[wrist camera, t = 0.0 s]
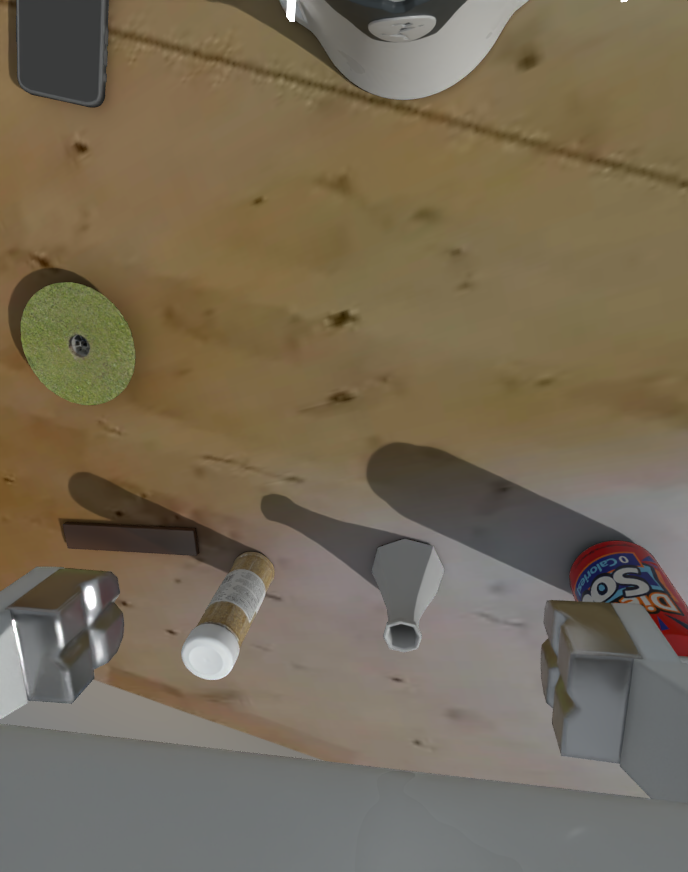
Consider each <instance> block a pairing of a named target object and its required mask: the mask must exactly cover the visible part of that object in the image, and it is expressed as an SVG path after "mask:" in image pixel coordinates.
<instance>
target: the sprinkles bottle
mask: <svg viewBox="0 0 688 872" xmlns="http://www.w3.org/2000/svg"><path fill="white" fill-rule="evenodd" d="M273 578H274V568H273V564H272V563H271V562H270V561H269V559H268V558H266V557H265V556H264V555H262V554H261V553H257V552H245V553H243V554H241V555H240V556H238V557H237V558H236V560H235V562H234V564H233V567H232V569H231V570H230V572H229V574H227V576H226V577H225V579H224V580H223V582H222V584H221V585H220V587H219V589H218V590H217V592H216V593H215V595H214V597H213V598H212V600H211V602H210V603H209V605H208V607H207V608H206V610H205V613H204V615H203V616H202V618H201V620H200V622H199V623H198V625H197V626H196V627H195V628H194V629H193V630H192V631H191V632H190V634H189V636H188V637H187V639H186V641H185V643H184V645H183V647H182V652H181V655H182V660H183V662H184V664H185V666H186V667H187V668H188V669H189V671H191V672H192V673H193V674H195V675H196V676H198V677H200V678H203V679H208V680H217V679H221V678H223V677H225V676H226V675H228V674H229V673H230V671H231V670H232V668H233V666H234V664H235V662H236V660H237V658H238V655H239V648H240V646H241V644H242V642H243V640H244V638H245V636H246V634H247V632H248V630H249V628H250V625H251V623H252V621H253V619H254V618H255V616H256V614H257V612H258V610H259V608H260V606H261V603H262V601H263V599H264V597H265V593H266V591H267V589H268V587H269V585H270V584H271V582H272V581H273Z"/></svg>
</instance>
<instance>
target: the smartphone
mask: <svg viewBox="0 0 688 872" xmlns="http://www.w3.org/2000/svg"><path fill="white" fill-rule="evenodd" d="M16 1H17V16H16V42H17V78H18V82H19V85H20V86H21V88H22V89H24V90H25V91H26V92H28V93H30V94H32V95H36V96H41V97H45V98H50V99H55V100H59V101H64V102H68V103H73V104H77V105H82V106H87V107H98V106H100V105H101V104H102V103H103V101H104V98H105V83H106V78H107V74H106V67H107V54H108V51H107V46H108V7H109V0H16Z"/></svg>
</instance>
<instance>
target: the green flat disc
mask: <svg viewBox="0 0 688 872" xmlns="http://www.w3.org/2000/svg"><path fill="white" fill-rule="evenodd" d="M23 311H24V313H23V316H22V318H21V319H22V321H21V325H20V326H21V342H22V347H23V350H24V353H25V356H26V358H27V360H28V363H29V364H30V366H31V368H32V370H33V372H34V373H35V374H36V376H37V377H38V378H39V380H40V381H41V382H42V383H43V384H44V385H45V386H46V387H47V388H48V389H49V390H51V391H52V392H54V393H55V394H57V395H58V396H60V397H62V398H64V399H66V400H68V401H70V402H74V403H78V404H82V405H97V404H102V403H105V402H108V401H110V400H112V399H114V398H115V397H117V396H118V395H119V394H120V393H121V392H122V391H123V390H124V389H125V388H126V387H127V385H128V383H129V381H130V379H131V377H132V374H133V372H134V365H135V360H134V359H135V349H134V342H133V337H132V333H131V330H130V329H129V326H128V323H127V322H126V321H125V319H124V317H123V315H122V314H121V313H120V311H119V310H118V309H117V308H116V307H115V306H114V304H113V303H112V302H111V301H109V300H108V299H107V298H106V297H105V296H103V295H102V294H101V293H99V292H97V291H95V290H94V289H92V288H90V287H87V286H84V285H81V284H78V283H73V282H67V283H66V282H62V283H54V284H51V285H49V286H45V287H44V288H42V289H40V291H38V292H37V293H35V294H34V295H33V297H32V298H31V299H30V300H29V302H28V303H27V305H26V307H25V309H24V310H23Z"/></svg>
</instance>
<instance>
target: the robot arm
mask: <svg viewBox="0 0 688 872" xmlns="http://www.w3.org/2000/svg"><path fill="white" fill-rule="evenodd" d="M279 1H280V4H281V6H282V8H283V9H284V11H285V12H286V13H287V15H286V16H287V18H288V19H289V21H291V22H294V20H295V21H297V22H298V23H300V24H301V25H302V26H304V27H306V28H307V29H309V30H310V31H312V33H313V34H314V35H315V36H316V37H317V39H318V40H319V42H320V43H321V45H322V46H323V48H324V50H325V51H326V53H327V55H328V56H329V58H330V59H331V61H332V62H333V63H334V65H335V66H336V67H337V68H338V70H339V71H340V72H341V73H342V74H343V75H344V76H345V77H346V78H348V79H349V80H350V81H351V82H353V83H354V84H355V85H357V86H358V87H360V88H362V89H363V90H365V91H367V92H369V93H372V94H374V95H377V96H380V97H384V98H389V99H396V100H411V99H418V98H423V97H427V96H431V95H433V94H436V93H439V92H441V91H443V90H445V89H447V88H449V87H451V86H452V85H454V84H456V83H457V82H459V81H460V80H461V79H463V78H464V77H465V76H466V75H468V74H469V73H470V72H471V71H472V70H473V69H474V68H475V67H476V66H477V65H478V64H479V63H480V62H481V61H482V60H483V58H484V57H485V56H486V55H487V53H488V52H489V51H490V49H491V48H492V46H493V45H494V43H495V42H496V40H497V38H498V37H499V35H500V33H501V32H502V30H503V28H504V26H505V25H506V23H507V22H508V20H509V19H510V17H511V16H512V15H513V13H514V12H515V11H516V10H517V9H519V8H520V7H521V6H522V5H524V4H525V3H526V2H527V1H529V0H279ZM626 1H627V0H621V2H626ZM119 594H120V590H119V584H118V578H117V577H116V576H115V575H114V574H113V573H112V572H109V571H97V570H86V569H74V568H64V567H36V568H35V569H33V570H32V571H30V572H29V573H27V574H26V575H24V576H23V577H21V578H20V579H18V580H17V581H15V582H14V583H12V584H11V585H10V586H8V587H7V588H5V589H4V590H2V591H1V592H0V719H2V718H3V717H5V716H7V715H8V714H10V713H12V712H13V711H15V710H16V709H18V708H20V707H21V706H23V705H25V704H26V703H28V700H29V701H43V702H57V703H71V704H72V703H73V702H74V701H75V700H76V698H77V697H78V696H79V695H80V694H81V693H82V692H83V690H84V689H85V688H86V687H87V686H88V685H89V684H90V683H91V682H92V680H93V679H94V669H96V668H98V667H100V666H102V665H104V664H106V663H108V662H109V661H110V660H111V659H112V657H113V656H114V655H115V654H116V653H117V651H118V648H119V646H120V643H121V641H122V638H123V632H124V618H123V613H122V611H121V610H120V609H119V608H118V606H117V605H116V604H115V603H114V602H115V600H116V598H117V597H118V595H119ZM544 626H545V629H546V632H547V635H548V639H547V640H546V641H545V642H544V643H543V644H542V648H541V680H542V686H543V692H544V696H545V700H546V703H547V704H549V705H550V706H551V707H552V708H553V716H552V725H553V728H554V732H555V735H556V739H557V742H558V746H559V749H560V753H561V756H567V757H574V758H582V759H589V760H597V761H604V762H612V763H619V764H620V767H621V768H622V769H623V770H624V771H625V772H626V773H627V774H628V775H629V776H630V777H631V778H632V779H633V780H634V781H635V782H636V783H637V784H638V785H639V786H640V787H641V789H642V790H643V791H644V792H645V793H646V794H647V795H648V796H649V797H650V798H651V799H649V798H641V797H632V796H623V795H615V794H606V793H598V792H589V791H580V790H572V789H563V788H554V787H546V786H537V785H528V784H519V783H511V782H502V781H493V780H485V779H476V778H467V777H459V776H450V775H441V774H432V773H424V772H415V771H406V770H398V769H389V768H380V767H371V766H363V765H354V764H345V763H337V762H328V761H319V760H310V759H302V758H293V757H284V756H276V755H267V754H258V753H250V752H241V751H232V750H222V749H214V748H206V747H198V746H188V745H179V744H172V743H163V742H154V741H146V740H136V739H127V738H119V737H110V736H102V735H94V734H85V733H76V732H68V731H59V730H50V729H42V728H32V727H24V726H16V725H7V724H0V872H688V663H682V661H681V660H680V658H679V657H678V655H677V654H676V653H675V651H674V650H673V648H672V647H671V645H670V644H669V642H668V641H667V640H666V638H665V637H664V635H663V634H662V632H661V631H660V629H659V628H658V627H657V625H656V624H655V622H654V621H653V619H652V618H651V616H650V615H649V613H648V612H647V611H646V609H645V608H644V606H642V605H640V604H635V603H607V602H582V601H557V600H549V601H547V602H546V606H545V612H544Z"/></svg>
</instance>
